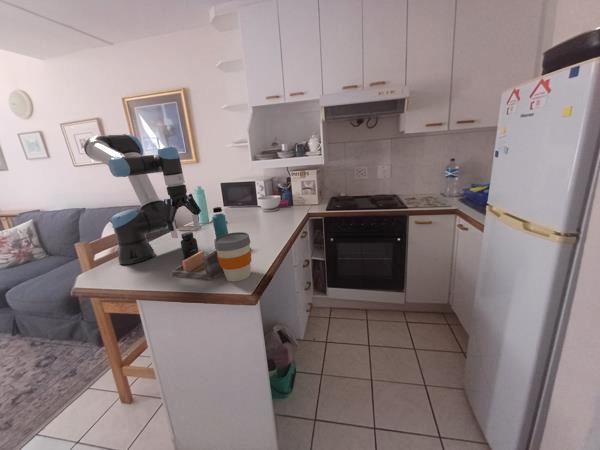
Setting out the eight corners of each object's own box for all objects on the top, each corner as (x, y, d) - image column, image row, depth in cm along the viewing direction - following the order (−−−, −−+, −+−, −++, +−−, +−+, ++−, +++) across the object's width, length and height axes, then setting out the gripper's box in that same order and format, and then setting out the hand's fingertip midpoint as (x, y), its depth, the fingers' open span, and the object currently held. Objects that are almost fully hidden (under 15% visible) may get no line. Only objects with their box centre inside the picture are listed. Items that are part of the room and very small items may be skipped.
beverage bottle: (226, 243, 137) (219, 205, 132) (233, 245, 133) (226, 206, 127) (215, 247, 133) (207, 208, 128) (221, 249, 128) (213, 209, 123)
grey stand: (172, 276, 104) (167, 255, 101) (197, 261, 116) (193, 243, 114) (211, 279, 97) (207, 258, 95) (233, 263, 109) (230, 244, 107)
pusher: (184, 273, 103) (181, 261, 102) (203, 261, 113) (201, 250, 111) (187, 273, 103) (184, 261, 101) (205, 261, 112) (203, 250, 111)
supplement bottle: (194, 261, 117) (188, 235, 114) (181, 261, 118) (175, 236, 115) (203, 255, 123) (197, 230, 120) (190, 255, 125) (184, 231, 122)
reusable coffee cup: (260, 268, 102) (254, 231, 98) (247, 284, 91) (240, 243, 87) (231, 268, 105) (224, 232, 101) (214, 283, 94) (206, 243, 90)
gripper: (157, 189, 99) (171, 242, 105) (202, 180, 122) (211, 224, 127) (143, 190, 102) (157, 242, 108) (190, 181, 124) (199, 225, 130)
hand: (186, 232), depth 117 cm, fingers open, 13 cm apart
